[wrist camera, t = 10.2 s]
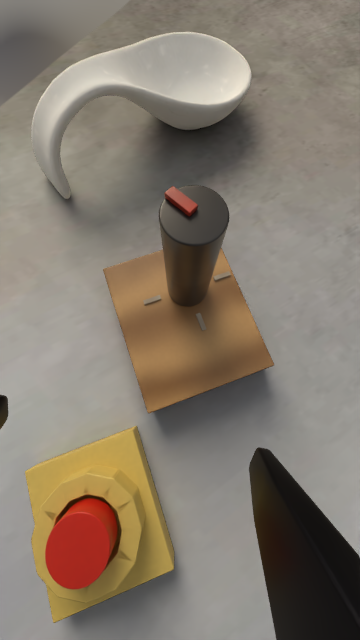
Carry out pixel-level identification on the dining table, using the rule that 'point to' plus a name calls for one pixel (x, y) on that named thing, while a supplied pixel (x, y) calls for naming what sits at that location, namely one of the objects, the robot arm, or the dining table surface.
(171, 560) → the button box
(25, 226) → the dining table surface
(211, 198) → the knob
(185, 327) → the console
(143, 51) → the spoon rest
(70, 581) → the button
